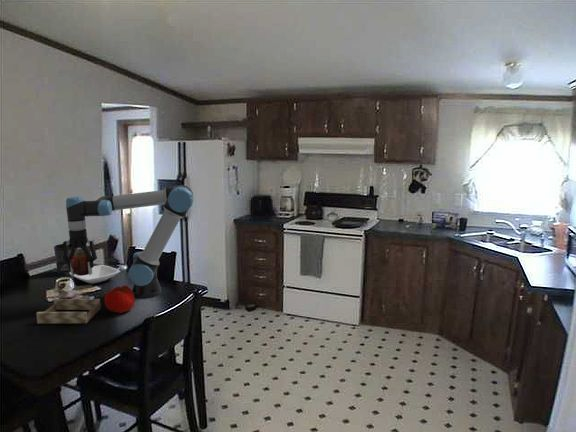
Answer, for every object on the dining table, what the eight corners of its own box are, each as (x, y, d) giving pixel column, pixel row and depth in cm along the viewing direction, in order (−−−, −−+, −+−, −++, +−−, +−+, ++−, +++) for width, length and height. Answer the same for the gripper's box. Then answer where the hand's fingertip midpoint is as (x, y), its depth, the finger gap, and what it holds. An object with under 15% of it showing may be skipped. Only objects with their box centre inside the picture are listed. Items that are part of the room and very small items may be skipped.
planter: (83, 273, 250) (81, 245, 247) (60, 278, 241) (58, 249, 238) (75, 268, 259) (73, 242, 256) (53, 273, 250) (50, 245, 246)
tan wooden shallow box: (100, 308, 199) (100, 299, 198) (86, 323, 182) (85, 312, 182) (55, 308, 197) (54, 299, 196) (37, 323, 181) (36, 313, 180)
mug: (80, 270, 205) (78, 251, 203) (96, 271, 203) (94, 251, 202) (64, 278, 193) (62, 257, 191) (81, 279, 192) (79, 258, 190)
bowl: (102, 272, 253) (102, 263, 252) (124, 280, 240) (123, 271, 239) (66, 281, 235) (65, 272, 234) (87, 290, 222) (86, 280, 221)
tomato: (122, 318, 189) (121, 294, 187) (98, 313, 193) (97, 289, 191) (141, 307, 201) (140, 285, 199) (119, 303, 206) (117, 281, 204)
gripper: (102, 226, 199) (106, 271, 203) (58, 227, 197) (63, 272, 201) (96, 230, 192) (101, 276, 196) (51, 231, 189) (56, 277, 193)
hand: (82, 274), depth 198 cm, fingers closed on mug, 7 cm apart
